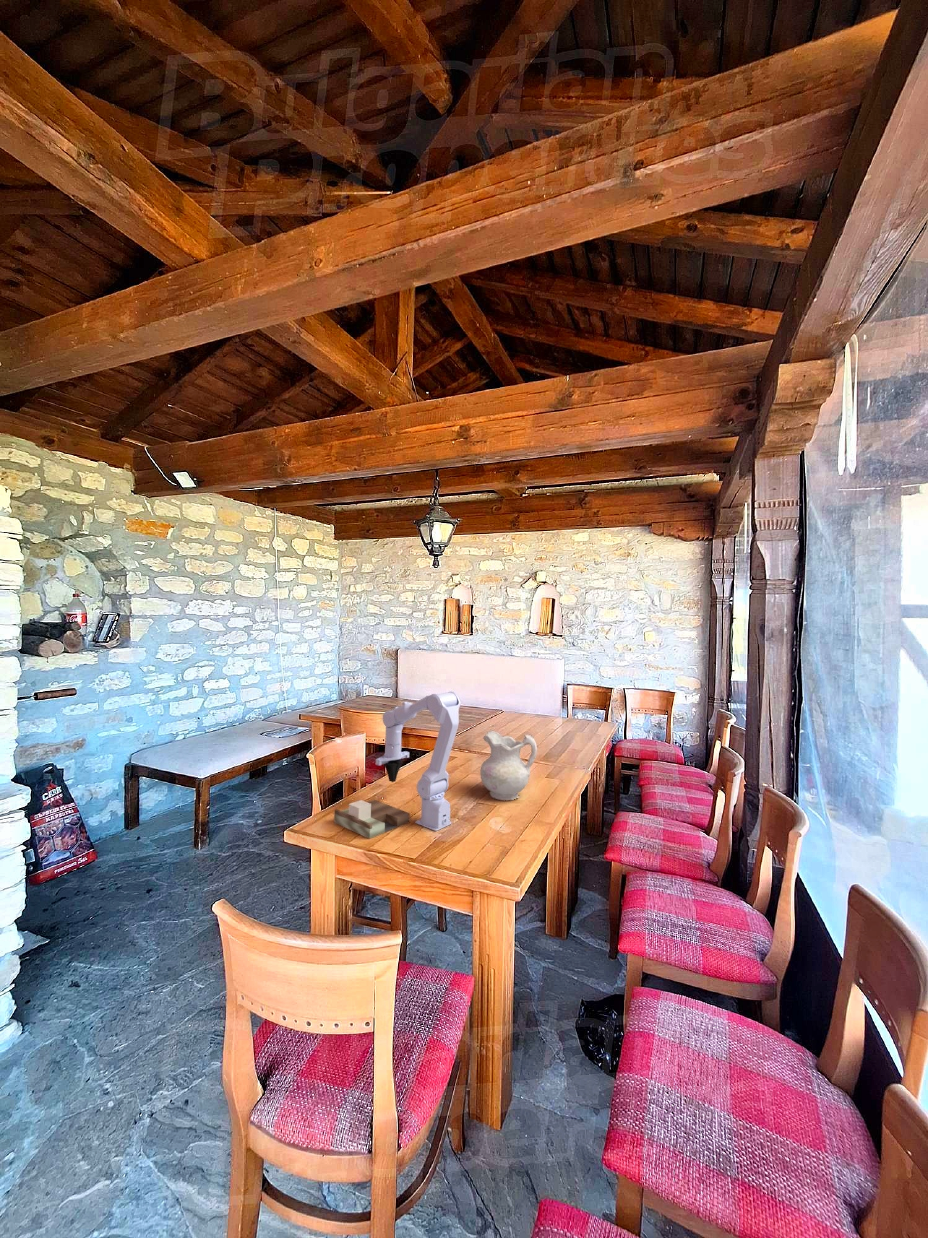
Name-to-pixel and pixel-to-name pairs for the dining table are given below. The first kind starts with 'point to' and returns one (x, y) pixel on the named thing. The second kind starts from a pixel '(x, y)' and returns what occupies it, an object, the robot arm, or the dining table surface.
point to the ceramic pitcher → (506, 766)
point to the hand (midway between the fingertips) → (392, 781)
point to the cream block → (360, 810)
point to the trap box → (373, 819)
